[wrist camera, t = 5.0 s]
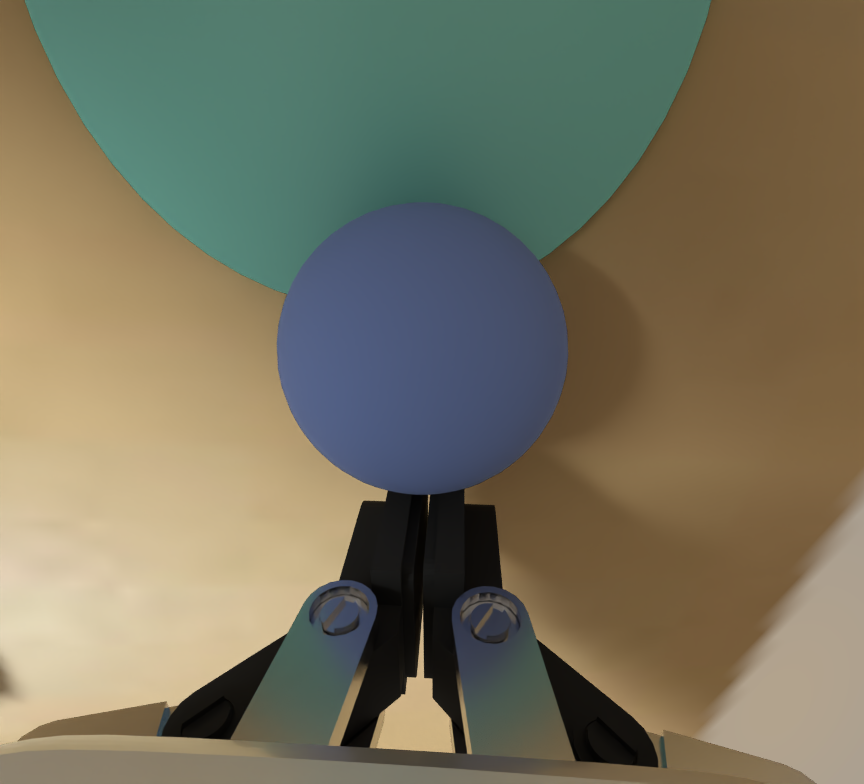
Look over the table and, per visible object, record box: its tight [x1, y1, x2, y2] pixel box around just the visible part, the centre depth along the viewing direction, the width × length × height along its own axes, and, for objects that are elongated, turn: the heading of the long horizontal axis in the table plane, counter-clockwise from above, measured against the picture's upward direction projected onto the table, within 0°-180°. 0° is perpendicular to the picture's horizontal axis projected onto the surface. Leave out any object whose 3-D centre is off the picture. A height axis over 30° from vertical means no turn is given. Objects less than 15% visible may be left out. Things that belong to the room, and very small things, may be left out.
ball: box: [277, 202, 568, 495], centre depth 10 cm, size 6×6×6 cm
